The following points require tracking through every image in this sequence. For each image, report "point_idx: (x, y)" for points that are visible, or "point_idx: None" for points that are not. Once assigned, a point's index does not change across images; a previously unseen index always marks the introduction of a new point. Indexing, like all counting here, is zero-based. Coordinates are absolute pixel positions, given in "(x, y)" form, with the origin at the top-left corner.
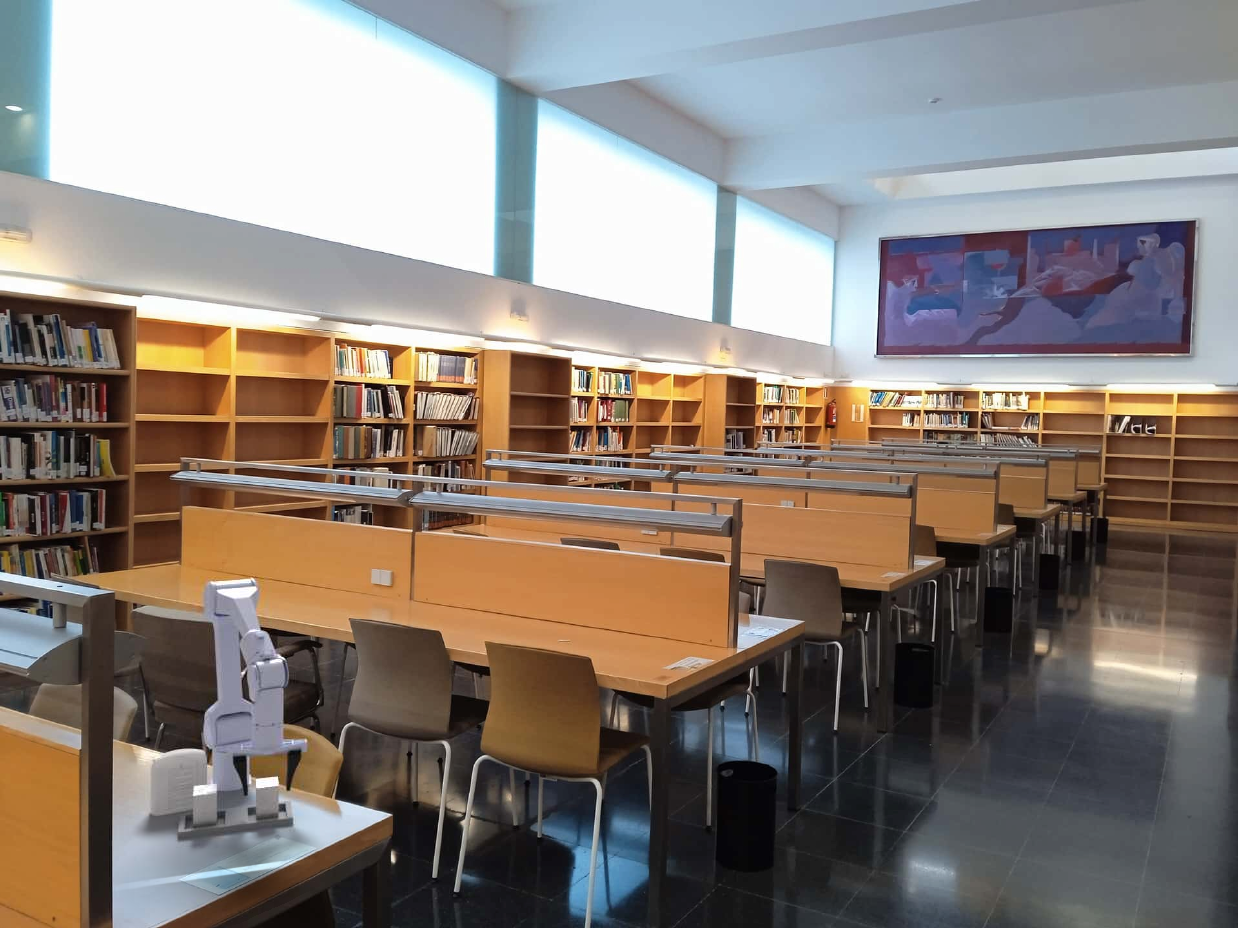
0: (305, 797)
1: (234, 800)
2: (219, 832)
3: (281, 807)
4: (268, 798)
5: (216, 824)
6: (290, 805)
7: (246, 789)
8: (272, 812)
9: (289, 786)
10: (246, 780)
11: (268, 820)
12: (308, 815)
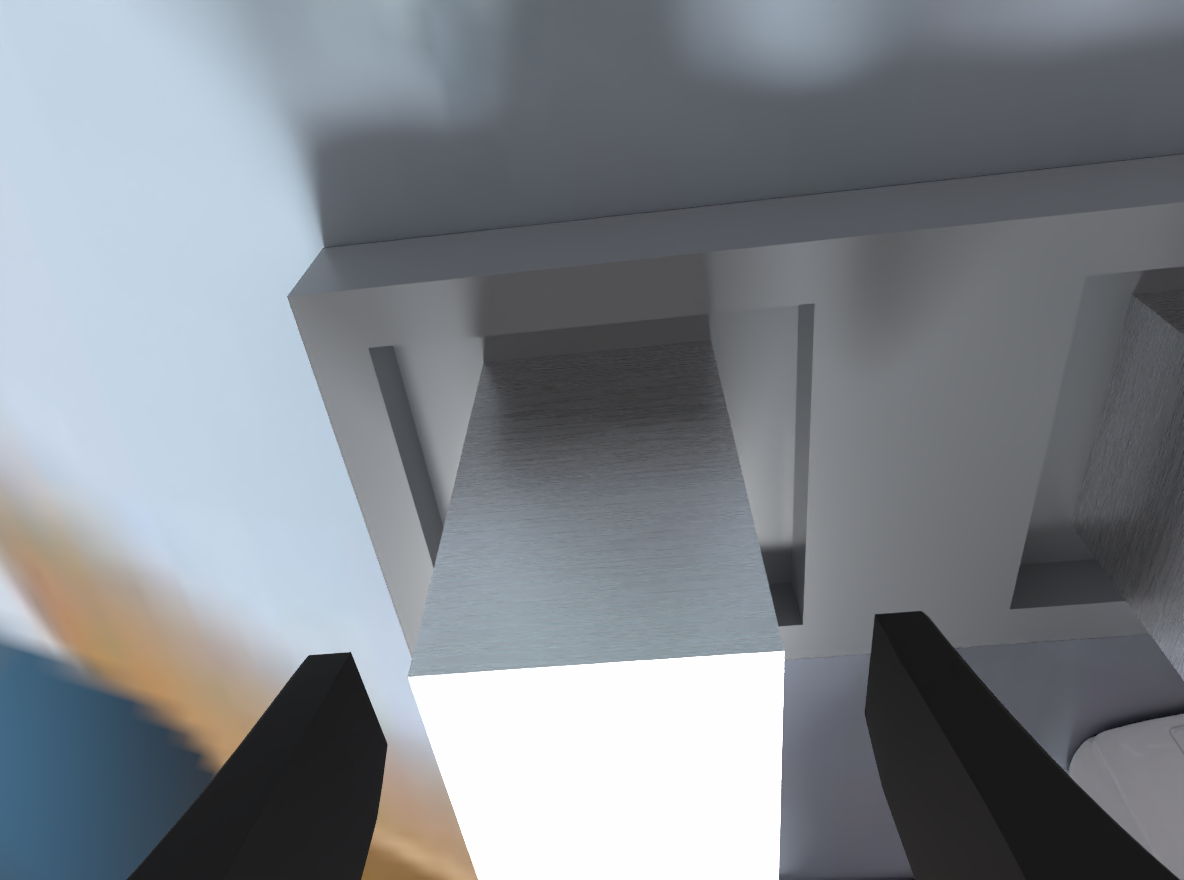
0: None
1: (861, 816)
2: (1132, 181)
3: None
4: (582, 526)
5: (1164, 318)
6: (398, 597)
7: (929, 675)
8: (539, 412)
9: (289, 697)
10: (995, 809)
11: (574, 277)
12: (251, 502)
